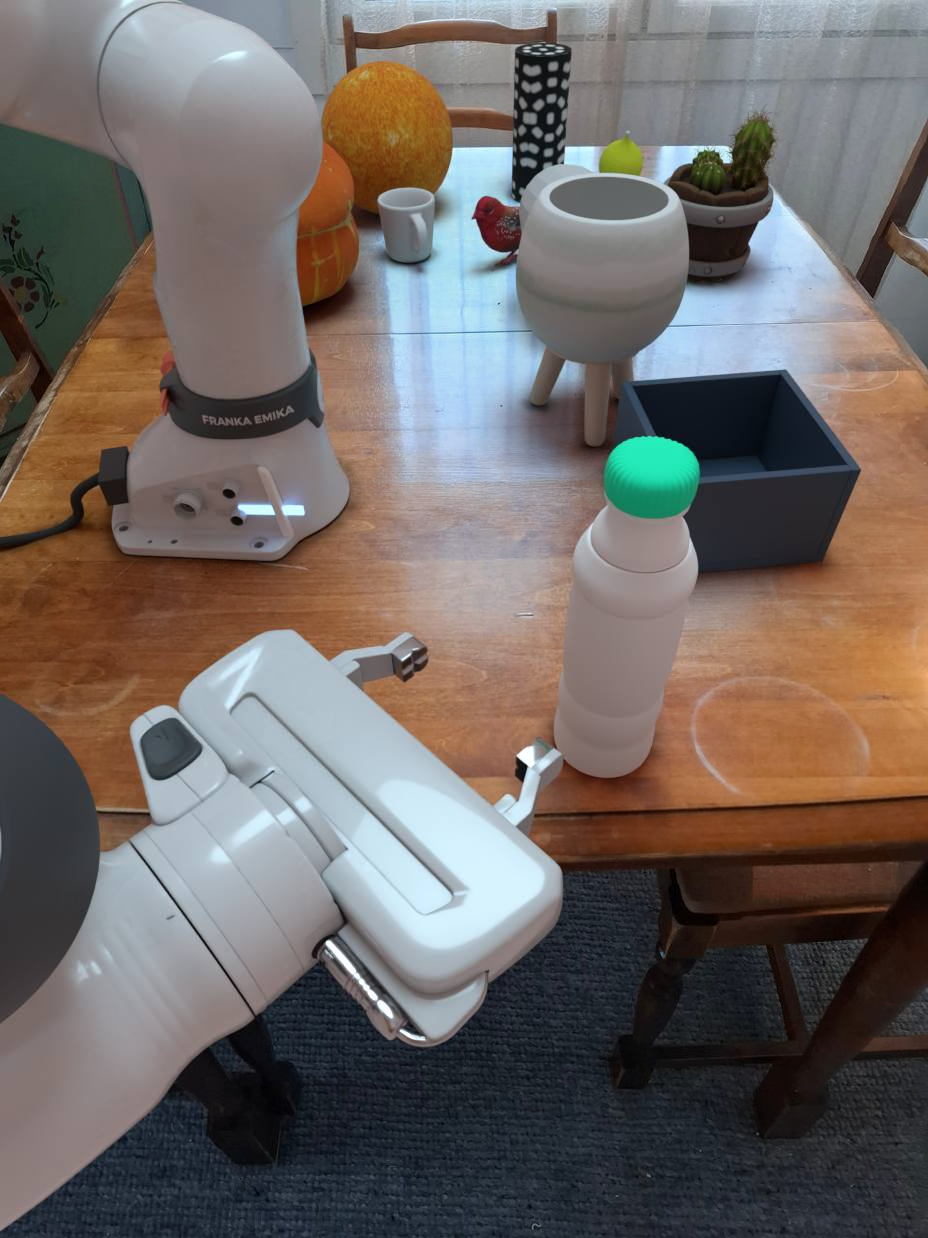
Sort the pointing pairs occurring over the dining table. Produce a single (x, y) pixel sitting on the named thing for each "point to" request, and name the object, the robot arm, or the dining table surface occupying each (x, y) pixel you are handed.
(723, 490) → the bin
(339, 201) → the pumpkin
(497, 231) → the decorative bird figurine
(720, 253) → the flowerpot
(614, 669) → the water bottle
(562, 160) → the white-spotted black cylinder
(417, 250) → the cup
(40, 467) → the dining table surface
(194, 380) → the robot arm
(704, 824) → the dining table surface
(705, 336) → the dining table surface
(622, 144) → the yellow-green rounded piece
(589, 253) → the planter
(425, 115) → the decorative sphere
